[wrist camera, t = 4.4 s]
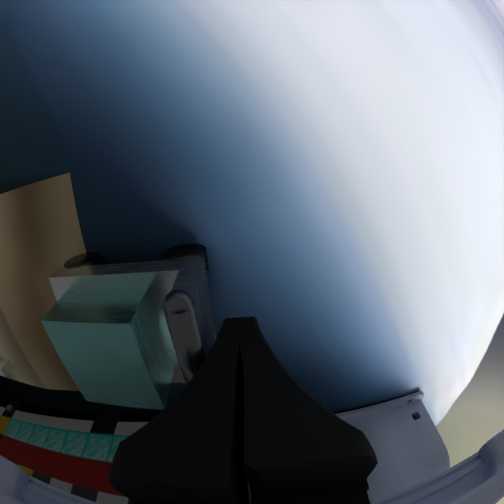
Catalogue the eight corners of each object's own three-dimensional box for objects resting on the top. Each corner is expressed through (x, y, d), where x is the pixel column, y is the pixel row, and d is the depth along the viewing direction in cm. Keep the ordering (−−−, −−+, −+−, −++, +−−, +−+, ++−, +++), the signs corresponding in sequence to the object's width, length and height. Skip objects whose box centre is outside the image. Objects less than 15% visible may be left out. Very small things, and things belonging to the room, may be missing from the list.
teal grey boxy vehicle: (208, 232, 12) (188, 299, 7) (225, 352, 15) (222, 434, 10) (72, 245, 12) (9, 301, 7) (110, 352, 15) (80, 420, 10)
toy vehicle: (-10, 395, 18) (-51, 477, 4) (210, 400, 16) (204, 614, 3) (29, 435, 21) (0, 515, 8) (244, 449, 20) (253, 599, 6)
